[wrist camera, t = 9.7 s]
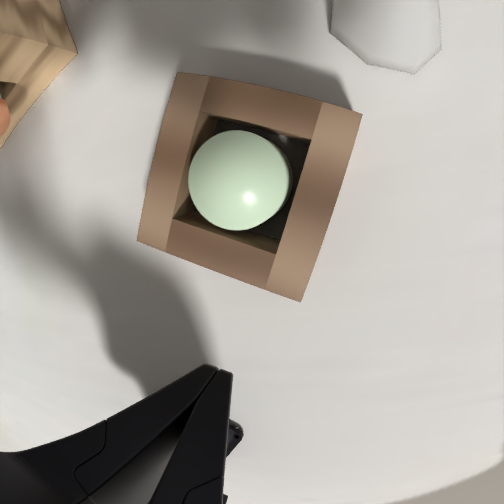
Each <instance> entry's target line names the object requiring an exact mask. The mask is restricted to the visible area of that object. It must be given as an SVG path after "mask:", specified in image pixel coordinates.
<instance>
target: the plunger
mask: <svg viewBox="0 0 504 504" xmlns="http://www.w3.org/2000/svg"><path fill="white" fill-rule="evenodd" d="M10 121H11V118H10V114H9V109H8V105H7V103H6V102H5V101H4V100H3V99H1V94H0V137H1V136H2V135H3V134H4V133H5V131H6V130H7V129H8V127H9V125H10Z"/></svg>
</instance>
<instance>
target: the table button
mask: <svg viewBox="0 0 504 504" xmlns="http://www.w3.org/2000/svg"><path fill="white" fill-rule="evenodd" d="M188 184H189V191H190V195H191V198H192V200H193V203H194V205H195V206H196V208H197V210H198V211H199V212H200V213H201V215H202V216H204V217H205V218H206V219H207V220H208V221H209V222H211V223H213V224H214V225H216V226H218V227H221V228H224V229H228V230H246V229H250V228H253V227H255V226H258V225H259V224H261V223H263V222H264V221H266V220H267V219H269V218H270V217H272V216H273V215H275V214H276V213H277V212H278V211H280V209H281V208H282V207H283V206H284V205H285V203H286V202H287V200H288V198H289V196H290V194H291V190H292V185H293V173H292V168H291V165H290V162H289V160H288V158H287V157H286V155H285V154H284V152H283V151H282V150H281V149H280V148H279V147H278V146H277V145H275V144H274V143H272V142H270V141H268V140H266V139H264V138H262V137H260V136H258V135H256V134H254V133H251V132H247V131H241V130H233V131H226V132H222V133H220V134H217V135H215V136H213V137H212V138H210V139H209V140H207V141H206V142H205V143H204V144H203V145H202V146H201V147H200V148H199V150H198V151H197V153H196V154H195V156H194V158H193V160H192V162H191V166H190V169H189V177H188Z"/></svg>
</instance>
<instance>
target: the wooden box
mask: <svg viewBox="0 0 504 504" xmlns="http://www.w3.org/2000/svg"><path fill="white" fill-rule="evenodd" d="M77 54H78V53H77V50H76V48H75V45H74V42H73V39H72V37H71V34H70V31H69V28H68V25H67V23H66V20H65V17H64V14H63V11H62V8H61V5H60V2H59V0H0V94H1V99H3V100H4V101H5V102H6V103H7V105H8V109H9V114H10V118H11V121H10V125H9V127H8V129H7V130H6V131H5V133H4V134H3V135H2V136H1V137H0V148H1V147H2V145H3V144H4V142H5V141H6V139H7V138H8V136H9V135H10V134H11V132H12V131H13V129H14V128H15V127H16V125H17V124H18V123H19V121H20V120H21V119H22V117H23V116H24V115H25V113H26V112H27V111H28V109H29V108H30V107H31V106H32V104H33V103H34V102H35V101H36V99H37V98H38V97H39V96H40V95H41V93H42V92H43V91H44V90H45V89H46V88H47V86H48V85H49V84H50V83H51V82H52V81H53V80H54V78H55V77H56V76H57V75H58V74H59V73H60V72H61V71H62V70H63V69H64V68H65V66H66V65H67V64H68V63H69V62H70V61H71V60H72V59H73V58H74V57H75V56H76V55H77Z"/></svg>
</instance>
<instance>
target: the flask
mask: <svg viewBox="0 0 504 504" xmlns="http://www.w3.org/2000/svg"><path fill="white" fill-rule="evenodd" d="M330 34H331V35H333V36H334V37H335V38H336V39H338V40H339V41H340V42H341V43H343V44H344V45H345V46H346V47H348V48H349V49H350V50H351V51H352V52H354V53H355V54H356V55H357V56H358V57H359V58H361V59H362V60H363V61H364V62H365V63H366V64H368V65H374V66H379V67H384V68H388V69H393V70H397V71H402V72H406V73H410V74H416V73H417V72H418V71H419V70H420V69H421V68H422V67H423V66H424V65H425V64H426V63H427V62H428V61H429V60H430V59H431V58H433V57H434V56H435V55H436V54H437V53H438V52H439V51H440V50H441V26H440V10H439V2H438V0H333V6H332V20H331V32H330Z"/></svg>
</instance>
